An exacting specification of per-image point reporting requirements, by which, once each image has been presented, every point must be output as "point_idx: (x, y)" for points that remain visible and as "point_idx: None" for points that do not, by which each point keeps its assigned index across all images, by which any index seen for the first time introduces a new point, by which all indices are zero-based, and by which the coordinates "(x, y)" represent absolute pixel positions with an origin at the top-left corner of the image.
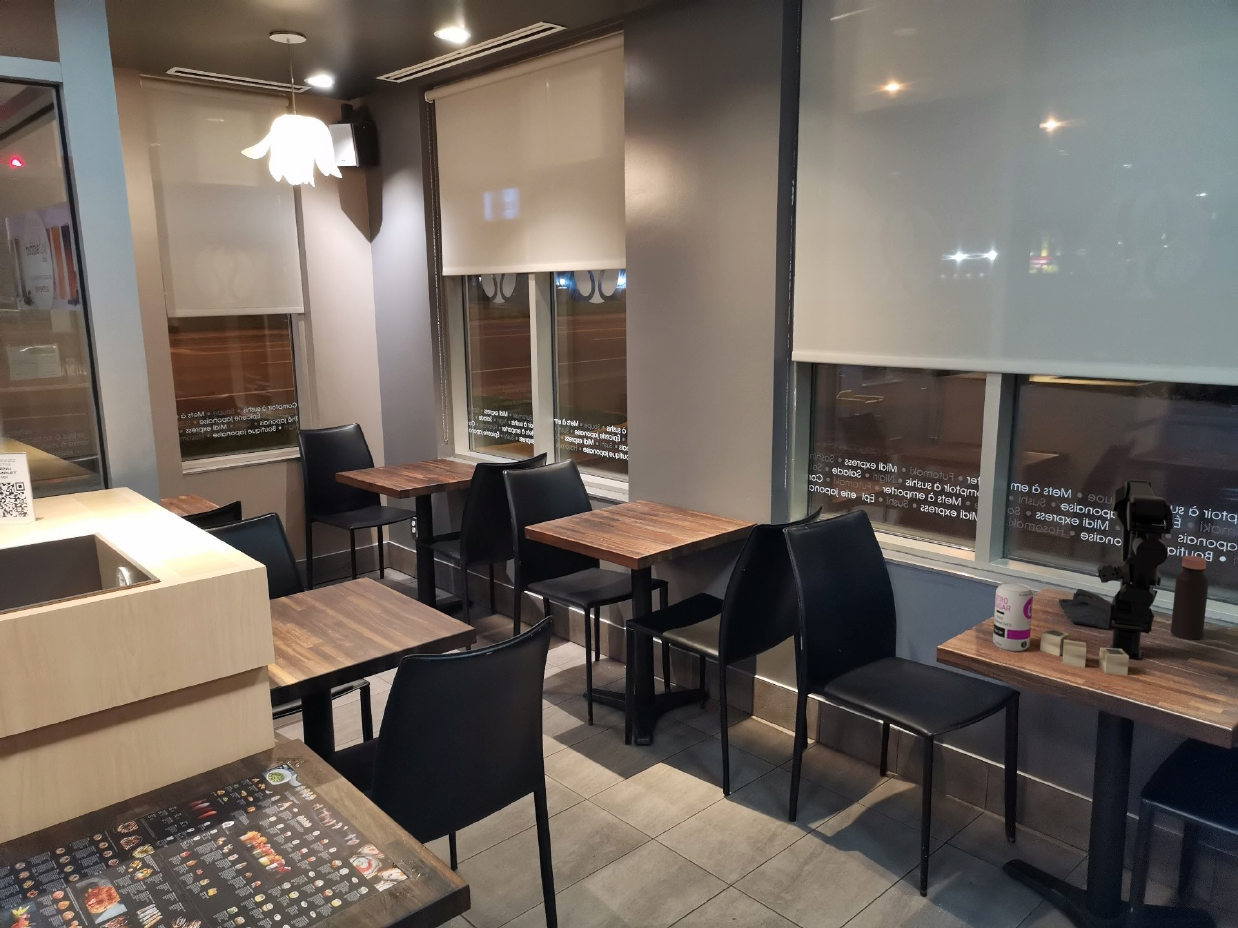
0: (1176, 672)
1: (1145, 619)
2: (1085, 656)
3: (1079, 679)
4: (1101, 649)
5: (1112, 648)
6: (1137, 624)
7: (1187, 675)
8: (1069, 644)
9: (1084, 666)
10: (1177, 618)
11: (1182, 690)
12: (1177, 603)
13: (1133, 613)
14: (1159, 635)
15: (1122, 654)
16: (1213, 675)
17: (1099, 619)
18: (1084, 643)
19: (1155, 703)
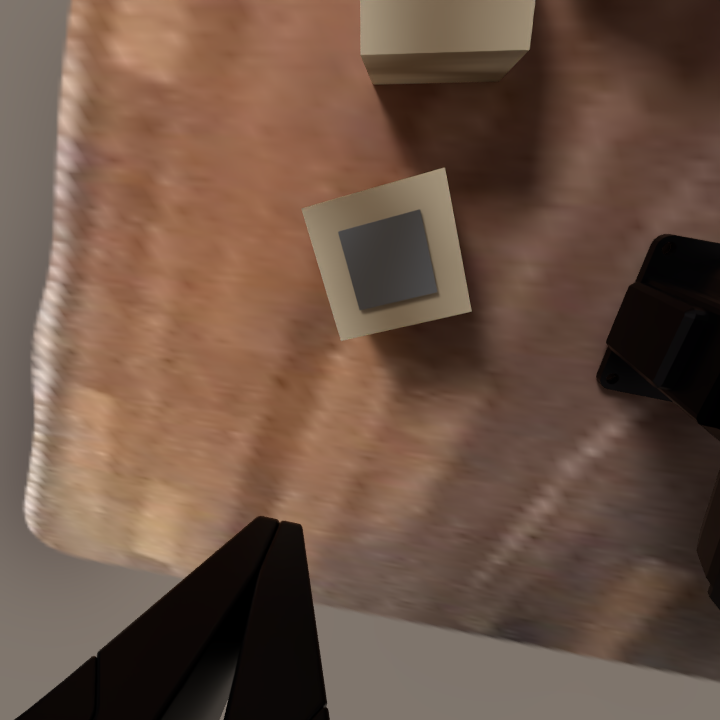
0: (478, 500)
1: (713, 581)
2: (366, 66)
3: (161, 50)
4: (413, 176)
5: (458, 254)
6: (714, 488)
7: (457, 529)
8: None
9: (372, 81)
10: None
11: (277, 487)
12: None
13: (168, 595)
14: None
15: (361, 307)
16: (493, 603)
17: None
18: (506, 38)
19: (80, 380)
